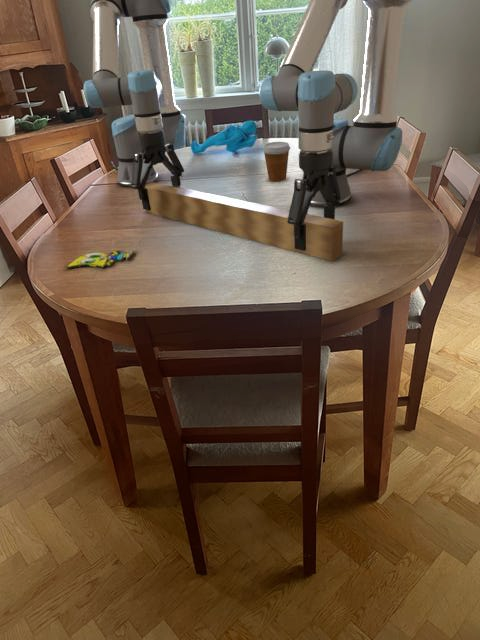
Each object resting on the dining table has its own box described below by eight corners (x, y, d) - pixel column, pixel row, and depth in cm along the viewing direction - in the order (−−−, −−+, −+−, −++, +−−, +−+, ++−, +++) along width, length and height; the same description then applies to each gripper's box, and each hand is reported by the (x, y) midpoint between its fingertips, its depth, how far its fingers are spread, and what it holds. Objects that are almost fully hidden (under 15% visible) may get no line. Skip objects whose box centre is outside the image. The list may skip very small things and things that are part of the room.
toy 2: (195, 134, 218) (257, 114, 208) (203, 157, 223) (264, 139, 213) (184, 143, 204) (250, 123, 194) (193, 168, 209) (257, 149, 199)
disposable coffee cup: (260, 182, 170) (258, 147, 164) (269, 174, 177) (267, 141, 171) (286, 183, 167) (285, 148, 160) (294, 175, 174) (293, 141, 168)
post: (146, 212, 154) (141, 186, 150) (157, 207, 157) (152, 181, 152) (332, 261, 115) (333, 227, 110) (341, 254, 118) (343, 221, 113)
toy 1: (121, 265, 120) (65, 266, 122) (122, 268, 120) (66, 269, 122) (134, 248, 128) (81, 249, 130) (135, 251, 129) (82, 251, 131)
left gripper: (125, 141, 129) (140, 217, 140) (189, 123, 144) (198, 193, 155) (108, 139, 133) (124, 213, 145) (172, 121, 148) (182, 189, 160)
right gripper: (298, 165, 97) (299, 262, 108) (357, 138, 112) (353, 225, 123) (269, 161, 101) (273, 254, 113) (329, 136, 116) (327, 220, 128)
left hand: (162, 203), depth 150 cm, fingers open, 12 cm apart
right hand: (315, 239), depth 118 cm, fingers open, 12 cm apart
